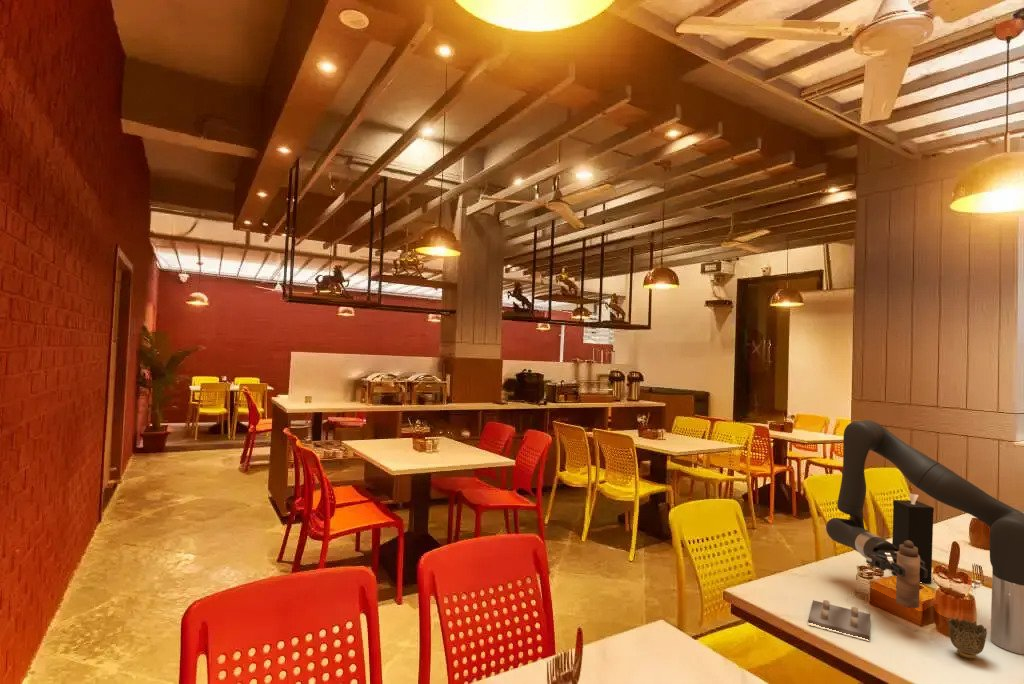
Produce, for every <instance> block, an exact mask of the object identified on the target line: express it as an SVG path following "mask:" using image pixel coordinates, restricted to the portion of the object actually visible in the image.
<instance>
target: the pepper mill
mask: <svg viewBox="0 0 1024 684" xmlns="http://www.w3.org/2000/svg"><path fill="white" fill-rule="evenodd" d="M897 564H898V565H900V566H901V567H903V568H904V569H905V577H901V576H900V575H898V574H897V577H896V576H895V577H896V582H895V583H896V585H895V586H896V587H895V588H896V589H895V591H896V592H895V602H896V603H897V604H898V605H900V606H903V607H906V608H910V609H918V608H920V556H919V555H918V548H917V547H915V546H914V544H913V542H912V541H910V540H906V541H904V544H900V545H899V551H898V552H897Z"/></svg>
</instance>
